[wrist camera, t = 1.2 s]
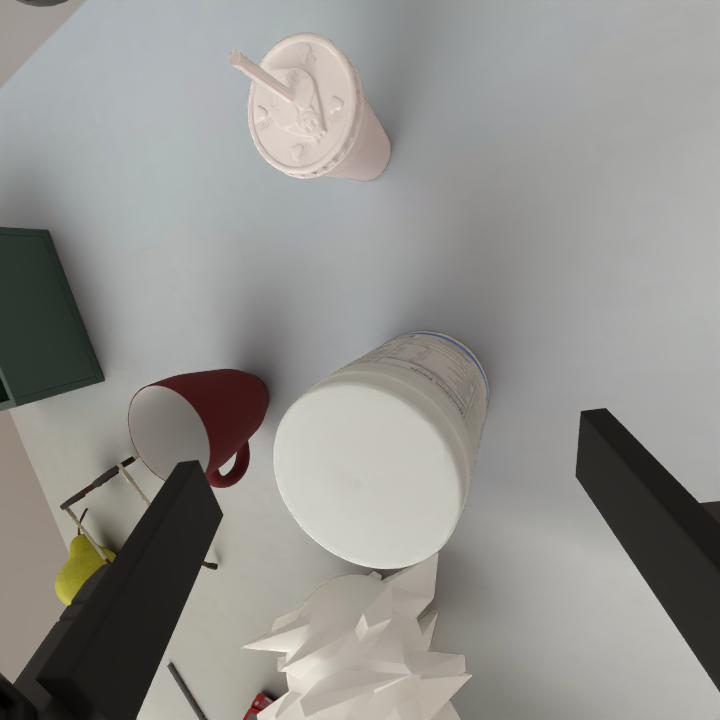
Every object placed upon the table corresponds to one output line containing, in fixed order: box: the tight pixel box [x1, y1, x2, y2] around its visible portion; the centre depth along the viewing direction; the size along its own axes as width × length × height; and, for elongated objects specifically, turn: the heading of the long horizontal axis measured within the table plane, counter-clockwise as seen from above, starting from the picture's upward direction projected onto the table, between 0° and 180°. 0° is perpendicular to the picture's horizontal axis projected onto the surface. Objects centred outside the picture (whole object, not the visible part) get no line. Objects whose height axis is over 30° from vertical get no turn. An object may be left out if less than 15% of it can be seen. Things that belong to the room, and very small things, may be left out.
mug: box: [128, 369, 269, 488], centre depth 33 cm, size 11×8×10 cm
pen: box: [167, 663, 205, 720], centre depth 54 cm, size 1×1×14 cm
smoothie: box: [229, 33, 391, 181], centre depth 22 cm, size 6×6×14 cm
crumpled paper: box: [241, 552, 472, 720], centre depth 31 cm, size 20×17×15 cm
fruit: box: [55, 508, 117, 606], centre depth 51 cm, size 7×7×12 cm
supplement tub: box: [273, 331, 489, 569], centre depth 24 cm, size 10×10×15 cm
